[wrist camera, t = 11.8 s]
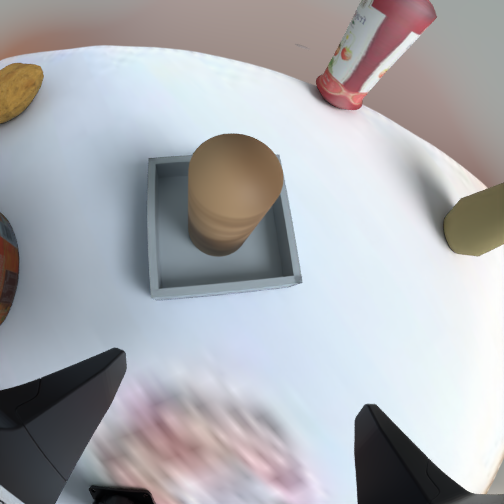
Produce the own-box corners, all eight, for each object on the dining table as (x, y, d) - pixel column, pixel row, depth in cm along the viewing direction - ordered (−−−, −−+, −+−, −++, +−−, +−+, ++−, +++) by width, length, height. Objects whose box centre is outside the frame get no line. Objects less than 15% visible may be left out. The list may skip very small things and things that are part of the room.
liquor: (359, 125, 31) (489, -24, 4) (308, 103, 30) (421, -77, 3) (358, 92, 33) (460, -39, 6) (312, 72, 32) (401, -78, 5)
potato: (10, 86, 22) (-4, 57, 15) (63, 84, 24) (50, 47, 17) (-23, 134, 19) (-44, 108, 13) (25, 138, 21) (1, 103, 14)
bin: (156, 300, 21) (151, 297, 18) (152, 175, 23) (148, 158, 20) (289, 287, 23) (302, 282, 21) (270, 171, 26) (279, 154, 23)
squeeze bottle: (443, 262, 29) (559, 221, 11) (432, 203, 30) (532, 144, 13) (471, 262, 30) (567, 228, 13) (461, 210, 32) (548, 164, 15)
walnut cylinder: (206, 267, 22) (218, 234, 13) (177, 215, 22) (172, 153, 13) (258, 239, 23) (300, 192, 14) (229, 190, 24) (253, 123, 15)
